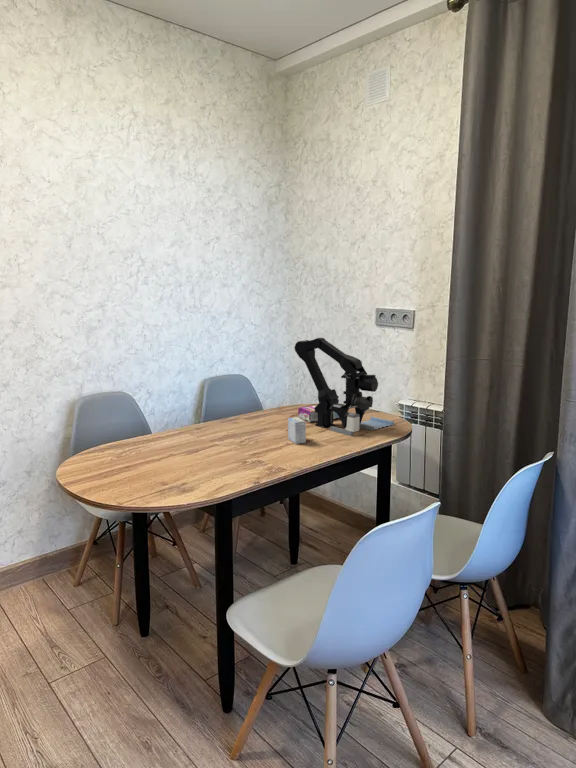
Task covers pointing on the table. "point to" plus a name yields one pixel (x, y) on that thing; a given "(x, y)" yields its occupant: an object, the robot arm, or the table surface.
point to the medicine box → (296, 430)
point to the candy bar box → (311, 414)
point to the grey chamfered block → (353, 422)
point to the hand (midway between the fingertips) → (352, 425)
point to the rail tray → (366, 425)
